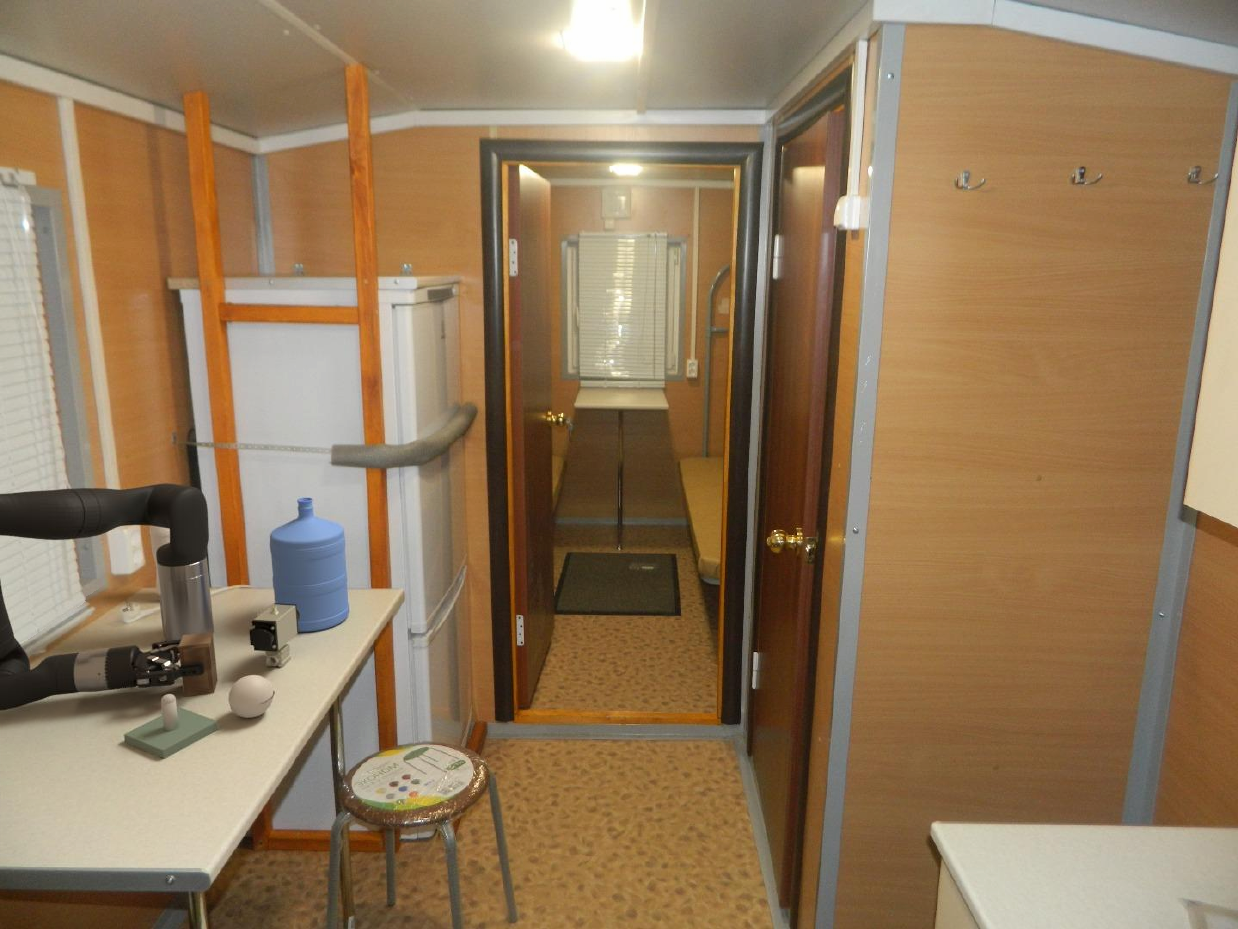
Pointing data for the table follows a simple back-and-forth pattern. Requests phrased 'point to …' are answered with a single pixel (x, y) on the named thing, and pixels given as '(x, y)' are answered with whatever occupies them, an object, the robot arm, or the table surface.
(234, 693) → the seamed sphere
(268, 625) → the pneumatic valve
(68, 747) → the table surface
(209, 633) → the brown wooden block
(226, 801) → the table surface
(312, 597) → the water jug
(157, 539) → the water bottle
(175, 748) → the stub base
